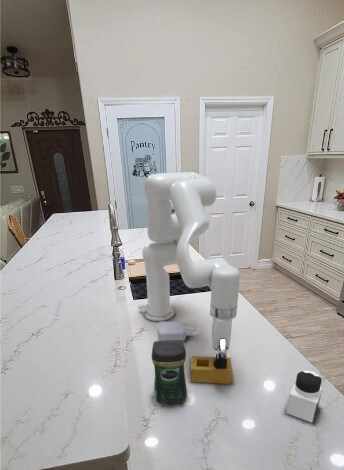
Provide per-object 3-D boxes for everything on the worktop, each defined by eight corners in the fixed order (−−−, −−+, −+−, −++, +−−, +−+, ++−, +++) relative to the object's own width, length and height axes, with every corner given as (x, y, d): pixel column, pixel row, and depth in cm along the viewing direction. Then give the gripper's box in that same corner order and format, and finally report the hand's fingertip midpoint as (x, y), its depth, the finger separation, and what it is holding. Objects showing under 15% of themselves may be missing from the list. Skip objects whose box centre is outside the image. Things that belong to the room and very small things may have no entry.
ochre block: (190, 382, 103) (191, 369, 100) (191, 368, 109) (192, 356, 106) (231, 383, 101) (232, 370, 99) (229, 370, 108) (230, 357, 105)
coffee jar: (185, 386, 101) (185, 334, 92) (187, 405, 94) (187, 350, 85) (154, 388, 100) (151, 336, 92) (153, 406, 93) (150, 351, 85)
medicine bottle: (312, 423, 87) (321, 388, 81) (285, 413, 90) (292, 378, 84) (318, 407, 92) (326, 372, 86) (292, 398, 95) (298, 364, 90)
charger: (199, 342, 123) (159, 343, 123) (197, 330, 131) (159, 331, 131) (199, 331, 120) (159, 332, 120) (197, 319, 129) (159, 320, 128)
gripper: (210, 296, 101) (208, 343, 109) (210, 323, 86) (208, 375, 94) (234, 297, 101) (230, 344, 109) (239, 324, 86) (234, 376, 94)
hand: (220, 358), depth 102 cm, fingers open, 9 cm apart
